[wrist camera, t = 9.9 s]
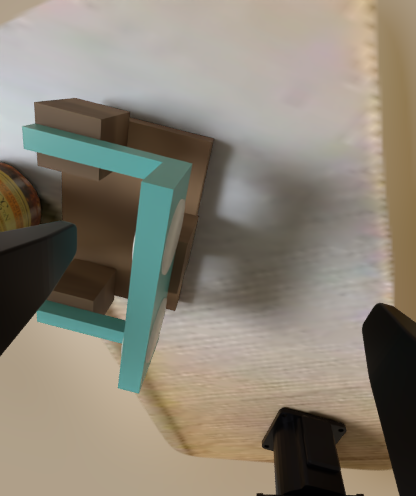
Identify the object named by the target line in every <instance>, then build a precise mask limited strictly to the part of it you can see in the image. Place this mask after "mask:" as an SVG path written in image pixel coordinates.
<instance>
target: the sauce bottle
mask: <svg viewBox="0 0 416 496" xmlns="http://www.w3.org/2000/svg"><path fill="white" fill-rule="evenodd" d="M40 222H41V204H40V198H39V197H38V196H37V192H36V190H35V189H34V188H33V186H32V185H31V183H30V182H29V181H28V180H27V179H26V178H25V177H24V176H23V175H22V174H21V173H19V172H18V170H17V169H15V168H14V167H12V166H10V165H8V164H6V163H2V162H0V232H4V231H9V230H14V229H19V228H25V227H30V226H35V225H39V224H40Z"/></svg>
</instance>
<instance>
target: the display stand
mask: <svg viewBox="0 0 416 496" xmlns="http://www.w3.org/2000/svg"><path fill="white" fill-rule="evenodd" d="M34 108H35V124H39V125H43V126H47V127H51V128H55V129H59V130H63V131H67V132H71V133H75V134H79V135H82V136H86V137H90V138H94V139H98V140H102V141H106V142H110V143H114V144H118V145H122V146H126V147H129V148H133V149H137V150H141V151H145V152H149V153H153V154H157V155H161V156H165V157H169V158H173V159H176V160H180V161H184V162H188V163H192V169H191V174H190V179H189V184H188V190H187V195H186V200H185V211H184V218H183V223H182V228H181V232H180V236H179V240H178V244H177V248H176V252H175V257H174V262H173V267H172V272H171V278H170V283H169V288H168V293H167V304H166V309H170V310H173V311H175V309H176V306H177V303H178V300H179V296H180V291H181V286H182V282H183V277H184V273H185V270H186V268H187V265H188V262H189V258H190V253H191V249H192V244H193V240H194V235H195V231H196V226H197V222H198V217H199V216H197V214H198V209H199V205H200V200H201V195H202V191H203V186H204V182H205V177H206V173H207V168H208V164H209V159H210V155H211V150H212V145H213V141H214V139H213V138H209V137H205V136H201V135H197V134H193V133H190V132H186V131H182V130H178V129H174V128H170V127H166V126H162V125H158V124H154V123H150V122H146V121H143V120H139V119H135V118H131V117H130V112H128V111H124V110H120V109H117V108H113V107H109V106H105V105H101V104H97V103H93V102H89V101H85V100H81V99H77V98H71V99H61V100H51V101H41V102H34ZM37 161H38V166H41V167H45V168H49V169H53V170H57V171H60V172H62V220H63V221H66V222H70V223H73V224H75V225H76V227H77V251H76V254H75V256H74V258H73V260H72V261H71V263H70V264H69V266H68V268H67V269H66V271H65V272H64V274H63V275H62V277H61V279H60V280H59V282H58V283H57V285H56V287H55V288H54V290H53V291H52V293H51V294H50V295H49V297H48V298H47V299H46V300H48V301H52V302H56V303H60V304H64V305H67V306H71V307H75V308H79V309H83V310H87V311H91V312H94V313H98V314H102V315H105V313H106V312H107V310H108V309H109V307H110V305H111V304H112V302H113V301H114V295H116V296H119V297H123V298H127V299H128V295H129V286H130V278H131V269H132V252H133V243H134V237H135V233H136V225H137V216H138V207H139V199H140V190H141V181H142V180H144V179H140V178H136V177H132V176H128V175H125V174H121V173H117V172H113V171H109V170H105V169H101V168H97V167H93V166H89V165H85V164H82V163H78V162H74V161H70V160H66V159H62V158H58V157H54V156H50V155H46V154H42V153H39V152H37Z"/></svg>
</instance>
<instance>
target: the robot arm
mask: <svg viewBox="0 0 416 496" xmlns="http://www.w3.org/2000/svg"><path fill="white" fill-rule="evenodd" d="M76 251H77V227H76V225H75V224H73V223H70V222H66V221H56V222H51V223H46V224H41V225H35V226H30V227H25V228H19V229H14V230H9V231H4V232H0V356H1V355H2V353H3V352H4V351H5V350H6V349H7V347H8V346H9V345H10V344H11V342H12V341H13V340H14V339H15V338H16V336H17V335H18V334H19V333H20V331H21V330H22V329H23V328H24V326H25V325H26V324H27V323H28V322H29V320H30V319H31V318H32V317H33V315H34V314H35V313H36V312H37V311H38V309H39V308H40V307H41V306H42V304H43V303H44V302H45V301H46V299H47V298H48V297H49V295H50V294H51V293H52V291H53V290H54V288H55V287H56V285H57V283H58V282H59V280H60V279H61V277H62V275H63V274H64V272H65V271H66V269H67V268H68V266H69V264H70V263H71V261H72V260H73V258H74V256H75V254H76ZM362 334H363V341H364V348H365V354H366V361H367V368H368V374H369V379H370V384H371V388H372V392H373V396H374V399H375V403H376V407H377V411H378V415H379V419H380V422H381V426H382V430H383V434H384V438H385V442H386V445H387V449H388V453H389V457H390V461H391V465H392V468H393V472H394V476H395V480H396V484H397V488H398V491H399V495H400V496H416V323H415V322H414V321H413V320H411V319H410V318H409V317H407V316H406V315H405V314H403V313H402V312H401V311H399V310H398V309H396V308H395V307H394V306H391V305H387V304H383V303H378V304H376V305H375V306H374V307H373V309H372V311H371V312H370V314H369V315H368V317H367V318H366V320H365V322H364V323H363V327H362ZM345 432H346V427H345V425H344V424H343V423H339V422H335V421H331V420H328V419H324V418H320V417H316V416H312V415H308V414H305V413H301V412H297V411H293V410H289V409H285V408H283V409H280V410H279V412H278V413H277V415H276V417H275V419H274V421H273V422H272V424H271V426H270V428H269V430H268V431H267V433H266V435H265V437H264V439H263V440H262V447H263V448H264V449H267V450H271V451H274V465H275V466H274V467H275V484H276V495H263V493H257V496H364V494H356V495H346V492H345V488H344V484H343V479H342V475H341V471H340V470H341V467H340V463H339V458H338V454H337V449H336V444H337V443H338V441H339V440H340V439H341V437H342V436H343V435H344V434H345Z"/></svg>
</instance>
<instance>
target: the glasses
mask: <svg viewBox="0 0 416 496" xmlns="http://www.w3.org/2000/svg"><path fill="white" fill-rule="evenodd" d="M22 131H23V144H24V149H27V150H31V151H35V152H39V153H42V154H46V155H50V156H54V157H58V158H62V159H66V160H70V161H74V162H78V163H82V164H85V165H89V166H93V167H97V168H101V169H105V170H109V171H113V172H117V173H121V174H125V175H128V176H132V177H136V178H140V179H144V180H142V181H141V190H140V199H139V207H138V216H137V225H136V233H135V237H134V243H133V252H132V269H131V278H130V286H129V295H128V304H127V313H126V321H125V320H121V319H118V318H114V317H110V316H106V315H102V314H98V313H94V312H91V311H87V310H83V309H79V308H75V307H71V306H67V305H64V304H60V303H56V302H52V301H48V300H46V301H45V302H44V303H43V304H42V306H41V307H40V308H39V309H38V311H37V321H38V322H41V323H45V324H49V325H52V326H56V327H60V328H64V329H68V330H72V331H76V332H79V333H83V334H87V335H91V336H95V337H99V338H102V339H106V340H110V341H114V342H118V343H122V350H121V353H122V357H121V365H120V374H119V383H118V388H120V389H123V390H127V391H131V392H135V393H139V392H140V389H141V387H142V384H143V381H144V378H145V376H146V373H147V370H148V367H149V365H150V362H151V359H152V356H153V354H154V351H155V348H156V345H157V343H158V340H159V334H160V330H161V326H162V323H163V319H164V314H165V310H166V304H167V293H168V288H169V283H170V278H171V272H172V267H173V262H174V257H175V252H176V248H177V244H178V240H179V236H180V232H181V228H182V223H183V218H184V211H185V200H186V195H187V190H188V184H189V179H190V174H191V169H192V163H188V162H184V161H180V160H176V159H173V158H169V157H165V156H161V155H157V154H153V153H149V152H145V151H141V150H137V149H133V148H129V147H126V146H122V145H118V144H114V143H110V142H106V141H102V140H98V139H94V138H90V137H86V136H82V135H79V134H75V133H71V132H67V131H63V130H59V129H55V128H51V127H47V126H43V125H39V124H31V125H26V126H22Z"/></svg>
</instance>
